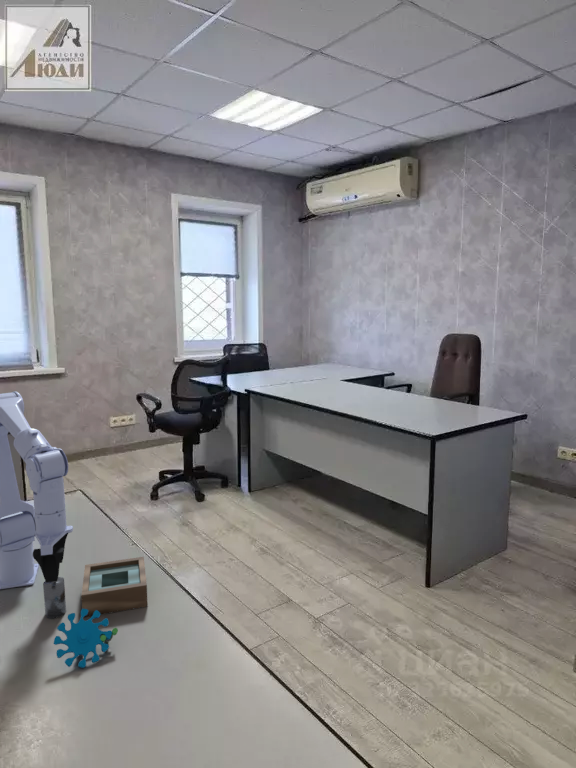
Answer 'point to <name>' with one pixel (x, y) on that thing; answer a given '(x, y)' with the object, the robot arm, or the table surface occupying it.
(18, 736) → the table surface
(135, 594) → the bore box
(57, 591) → the peg
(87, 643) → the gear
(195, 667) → the table surface
